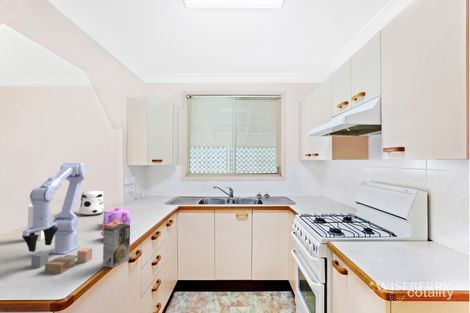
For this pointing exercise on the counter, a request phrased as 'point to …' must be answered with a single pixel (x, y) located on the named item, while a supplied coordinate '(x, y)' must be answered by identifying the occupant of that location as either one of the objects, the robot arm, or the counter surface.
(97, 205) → the milk container
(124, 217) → the teakettle
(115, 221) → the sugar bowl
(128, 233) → the coffee box
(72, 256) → the tile
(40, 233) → the milk
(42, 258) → the grey block
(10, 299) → the counter surface
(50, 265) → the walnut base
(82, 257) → the terracotta block
